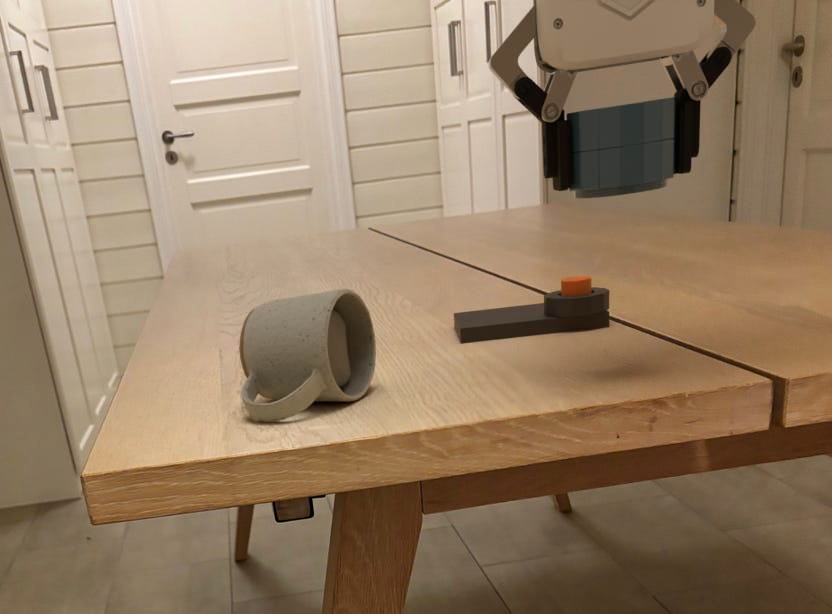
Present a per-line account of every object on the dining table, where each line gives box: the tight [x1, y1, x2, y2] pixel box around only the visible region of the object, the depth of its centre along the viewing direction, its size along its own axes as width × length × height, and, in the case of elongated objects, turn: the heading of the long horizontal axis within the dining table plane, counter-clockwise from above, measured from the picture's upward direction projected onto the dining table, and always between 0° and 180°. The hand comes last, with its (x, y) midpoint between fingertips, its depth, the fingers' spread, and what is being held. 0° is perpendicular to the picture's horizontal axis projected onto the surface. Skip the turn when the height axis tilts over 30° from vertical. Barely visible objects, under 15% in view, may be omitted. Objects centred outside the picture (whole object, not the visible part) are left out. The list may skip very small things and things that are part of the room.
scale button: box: [560, 275, 592, 296], centre depth 85 cm, size 3×3×2 cm
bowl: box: [565, 96, 677, 200], centre depth 62 cm, size 7×7×5 cm
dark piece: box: [453, 286, 610, 345], centre depth 88 cm, size 13×10×3 cm
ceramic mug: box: [238, 288, 377, 423], centre depth 69 cm, size 11×8×8 cm
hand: (620, 178), depth 63 cm, fingers closed on bowl, 6 cm apart
